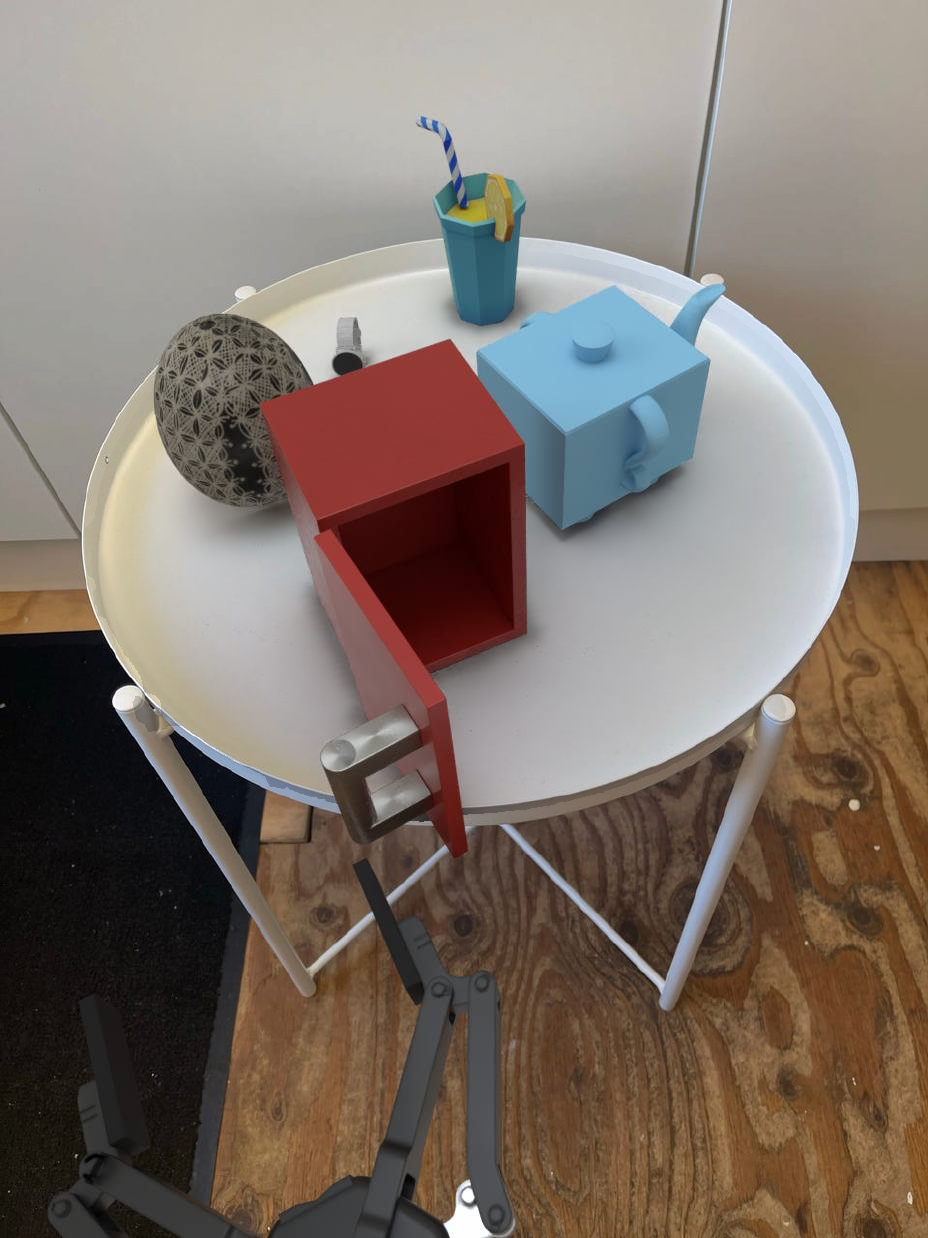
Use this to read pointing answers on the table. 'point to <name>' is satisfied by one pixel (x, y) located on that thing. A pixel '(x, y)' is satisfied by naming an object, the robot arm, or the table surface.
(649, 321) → the teapot
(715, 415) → the table surface
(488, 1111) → the robot arm
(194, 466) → the decorative egg
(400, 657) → the cabinet door
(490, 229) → the cup
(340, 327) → the wristwatch
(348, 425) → the red cabinet body
